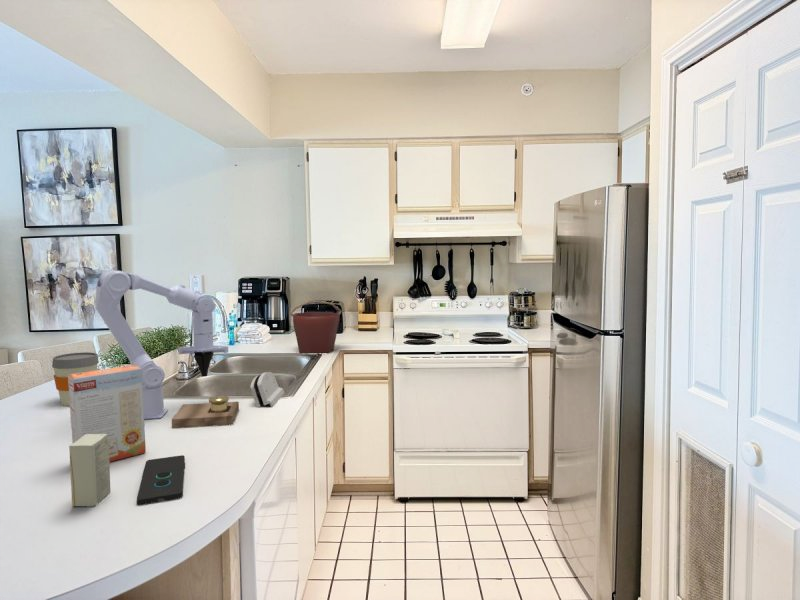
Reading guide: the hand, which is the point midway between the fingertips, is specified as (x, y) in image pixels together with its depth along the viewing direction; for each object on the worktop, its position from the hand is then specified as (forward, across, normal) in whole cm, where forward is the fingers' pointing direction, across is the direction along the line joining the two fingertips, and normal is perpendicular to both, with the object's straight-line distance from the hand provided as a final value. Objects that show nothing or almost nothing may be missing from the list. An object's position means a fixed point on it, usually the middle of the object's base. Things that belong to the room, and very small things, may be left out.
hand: (204, 375), depth 158 cm
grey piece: (+10, +19, +2) cm, 21 cm away
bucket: (+10, +37, +84) cm, 92 cm away
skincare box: (+10, -10, -61) cm, 63 cm away
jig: (+9, +3, -14) cm, 17 cm away
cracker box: (+10, -14, -40) cm, 43 cm away
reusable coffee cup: (+10, -41, +11) cm, 44 cm away
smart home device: (+10, +1, -55) cm, 56 cm away
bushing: (+9, +6, -14) cm, 18 cm away
